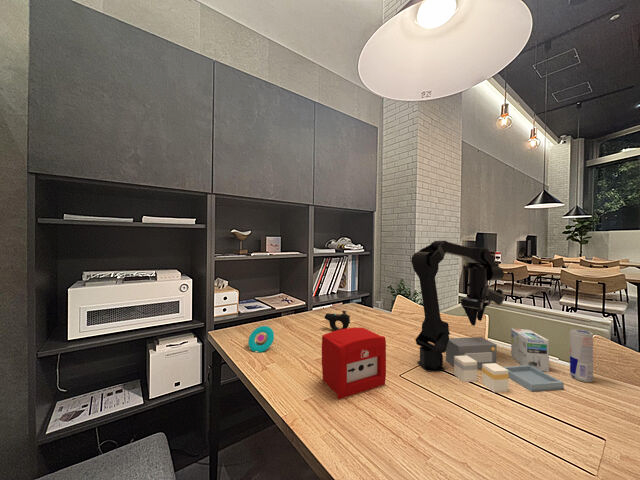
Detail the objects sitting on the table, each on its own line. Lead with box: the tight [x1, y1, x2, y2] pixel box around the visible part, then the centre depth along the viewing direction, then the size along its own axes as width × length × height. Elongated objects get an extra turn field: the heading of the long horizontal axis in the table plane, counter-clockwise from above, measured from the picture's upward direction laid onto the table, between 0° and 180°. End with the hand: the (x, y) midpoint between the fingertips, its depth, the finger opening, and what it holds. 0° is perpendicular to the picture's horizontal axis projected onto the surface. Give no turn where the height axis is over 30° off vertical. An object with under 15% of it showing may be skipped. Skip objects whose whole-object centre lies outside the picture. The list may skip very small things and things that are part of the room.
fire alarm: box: [321, 327, 387, 400], centre depth 77 cm, size 16×11×15 cm
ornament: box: [248, 325, 275, 353], centre depth 103 cm, size 11×4×10 cm
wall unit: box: [445, 336, 498, 370], centre depth 90 cm, size 14×8×8 cm, turn 97°
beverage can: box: [569, 328, 594, 383], centre depth 81 cm, size 5×5×15 cm
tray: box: [502, 365, 565, 393], centre depth 79 cm, size 11×11×2 cm
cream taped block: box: [481, 363, 510, 393], centre depth 76 cm, size 5×5×6 cm
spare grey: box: [453, 355, 478, 383], centre depth 81 cm, size 5×5×6 cm
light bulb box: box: [510, 328, 550, 372], centre depth 91 cm, size 11×7×11 cm, turn 168°
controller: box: [324, 310, 351, 331], centre depth 122 cm, size 4×12×10 cm, turn 70°
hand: (476, 322), depth 96 cm, fingers open, 9 cm apart
